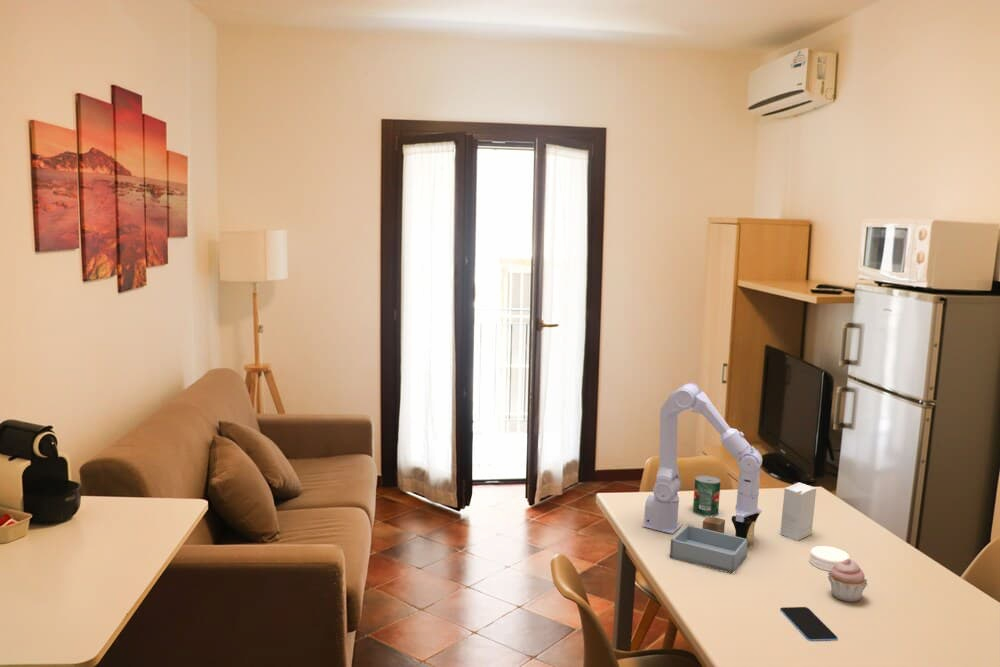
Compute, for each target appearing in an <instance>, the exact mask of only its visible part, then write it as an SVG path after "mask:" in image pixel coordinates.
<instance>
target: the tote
mask: <svg viewBox="0 0 1000 667" xmlns="http://www.w3.org/2000/svg"><path fill="white" fill-rule="evenodd" d="M747 545H748V539H745V538H740V537H736V536H735V535H730V534H726V533H724V534H723V533H719V532H715V531H711V530H707V529H702V527H698V526H695V525H694V526H693V525H689V524H687V525H686V526H684V527H683V529H681V530H680V531H679V532H678V533H677V534H675V535H674V536H673V538H671V539H670V549H669V558H672V559H675V560H679V561H683V562H687V563H690V564H694V565H697V564H698V565H697V566H701V565H702V566H703V567H705V566H706V568H709V567H710V569H713V568H714V569H713V570H717V569H718V570H717V571H720V570H723V571H722V572H724V571H727V572H726V573H728V572H730V573H729V574H732V573H733V572H734V571H735V572H736V571H737V570H738V568H739V567H740V565H741V564H742V563H743V562H744V560H745V559H746V558H747V555H748V547H747ZM742 561H743V562H742ZM702 566H701V567H702ZM738 566H739V567H738ZM735 572H734V573H735ZM734 573H733V574H734Z"/></svg>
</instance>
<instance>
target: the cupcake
mask: <svg viewBox="0 0 1000 667" xmlns="http://www.w3.org/2000/svg"><path fill="white" fill-rule="evenodd" d="M827 579H828V581H829V582H830V586H831V593H832V595H833V597H834V598H836V599H838V600H839V601H843V602H849V603H855V602H858V601H860V599H861V597H862V594H863V592H864V590H865V589H866V588H867V586H868V584H869V583H868V579H867V578H865V573H864V571H863V570H862V569H861V567H860V566H859V564H858V563H857V562H856V561H854V560H852V558H850V559H846V560H845V561H844V562H838V563H836V564H835V566H834V567H833V568H832V569H831V572H830V571H828V572H827Z"/></svg>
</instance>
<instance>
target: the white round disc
mask: <svg viewBox="0 0 1000 667" xmlns="http://www.w3.org/2000/svg"><path fill="white" fill-rule="evenodd" d="M809 552H810V554H809V560H808V561H809V563H810V564H811V565H812V566H814V567H815V568H817V569H819V570H822V571H826V572H831V569H832V568H833V567H834V566H835V564H836V563H838V562H844V561H845V560H846V559H851V557H850V555H849V553H847V552H846V551H844V550H843V549H841V548H838V547H833V546H828V545H827V546H826V545H825V546H824V545H819V546H814V547H812V548H810V551H809Z"/></svg>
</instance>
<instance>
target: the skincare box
mask: <svg viewBox="0 0 1000 667" xmlns="http://www.w3.org/2000/svg"><path fill="white" fill-rule="evenodd" d="M816 495H817V487H814V486H812V485H807V484H806V483H802V482H799V481H798V482H796V483H793V484H792V485H789V486H786V487H785V488H784V493H783V503H782V514H781V523H780V535H781V536H783V535H784V537H787V538H789V539H792V540H794V541H796V542H797V541H799V540H802V539H804V538H806V537H808V536H811V535H812V534H813V523H814V514H815V505H816Z"/></svg>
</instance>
